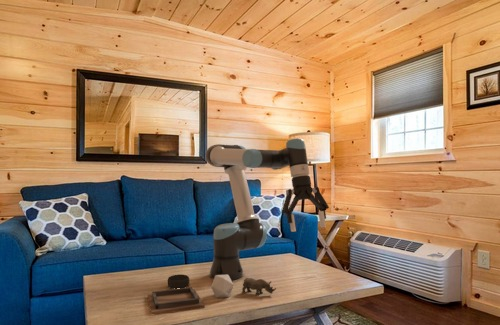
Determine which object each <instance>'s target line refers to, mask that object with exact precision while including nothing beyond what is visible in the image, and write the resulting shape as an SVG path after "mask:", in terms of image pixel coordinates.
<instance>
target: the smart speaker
mask: <svg viewBox="0 0 500 325" xmlns="http://www.w3.org/2000/svg"><path fill="white" fill-rule="evenodd" d="M189 286H190V277H189V275H186V274H173V275H171V276H168V278H167V288H169V287H170V288H169V289H171V288H175V289H177V288H185V287H186V288H188V287H189Z"/></svg>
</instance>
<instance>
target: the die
mask: <svg viewBox="0 0 500 325" xmlns="http://www.w3.org/2000/svg"><path fill="white" fill-rule="evenodd" d="M234 285H235V284H234V283H233V280H231V279H230V277H229V275H215V277H214V279H213V281H212V284H211V290H212V292H213V295H214V296H215V298H216V299H217V298H230V296H231V293H232V291H233V289H234V288H233V287H234Z"/></svg>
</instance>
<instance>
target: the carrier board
mask: <svg viewBox="0 0 500 325" xmlns="http://www.w3.org/2000/svg"><path fill="white" fill-rule="evenodd" d="M148 300H149V301H148ZM147 301H148V305H149V308H150V309H151V310H150V309H149V310H150V314H155V315H161V314H160V313H162V314H169V313H175V312H183V311H191V310H197V309H204V308H205V303H204V301H203V300H202V298H201V296H200V295H199V294H198V292H197V290H196V289H195V288H193V287H192V286H187V287H186V288H180V289H171V288H170V289H163V290H156V291H152V292H151V293H149V294H147ZM190 309H191V310H190Z"/></svg>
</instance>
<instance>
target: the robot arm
mask: <svg viewBox="0 0 500 325" xmlns="http://www.w3.org/2000/svg"><path fill="white" fill-rule="evenodd" d="M204 156H205V160H206V162H207V164H208V165H210V166H212V167H216V168H223V169H224V173H225V174H227V175H228V177H229V183H230V188H231V193H232V196H233V204H234V207H235V211H236V217H237V221H236V222H230V223H228V222H227V223H222V224H219V225H217V226H216V227H215V228H214V229H213V260H212V263H211V267H210V271H209V277H210V278H211V279H213V280H214V277H215V275H229V277H230V279H231V281H233V280H234V281H235V280H238V279H240V278H242V277H243V276H244V271H243V270H244V269H243V267H242V263H241V260H240V251H246V250H252V249H253V250H255V249H258V248H261V247H262V246H264V245H265V243H266V240H267V238H268V231H267V228H266V226H265V225H264V224H263V223H261V222H260V218H259V217H257V216H256V215H255V211H254V206H253V202H252V198H251V197H252V196H251V193H250V188H249V184H248V181H247V180H248V179H247V174H246V170H247V169H248V168H251V169H257V168H261V169H265V168H266V169H267V168H268V169H272V170H274V171H276V170H281V169H284V168H287V167H289V170H290V178H291V185H292V188H289V189H286V190H285V192H286V194H285V195H286V196H285V199H284V203H283V205H282V208H281V209H282V210H281V213H282V214H283V215H285V216H286V219H287V223H288V224H289V225H290V232H293V233H294V232H297V229H296V221H295V215H294V214H293V212H294V210H295V208H296V207H297V205H298V202H299V201H302V200H308V201H310V202H311V203H312V204H313V205H314V206H315V207H316V208H317V209H318V218H319V225H320V228H321V229H323V228H327V224H326V219H327V214H326V211H327V210H328V209H329V208H330V206H329V204H328V203H327V201H326V200H325V198H324V196H323V195H322V193H321V192H320V189H319V188H320V187H319V186H314V187H312V180H311V176H310V168H309V162H308V156H307V148H306V144H305V140H304V139H303V138H300V137H299V138H291V139H288V140H287V141H286V143H285V148H282V149H280V150H279V149H278V150H277V149H276V150H275V149H274V150H273V149H256V148H246V147H245V146H243V145H238V144H220V143H219V144H217V143H216V144H212V145H211V146H210V147H208V148H207V150H206V151H205V155H204ZM292 195H294V197H292ZM292 198H293V199H292ZM291 200H292V202H291Z"/></svg>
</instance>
